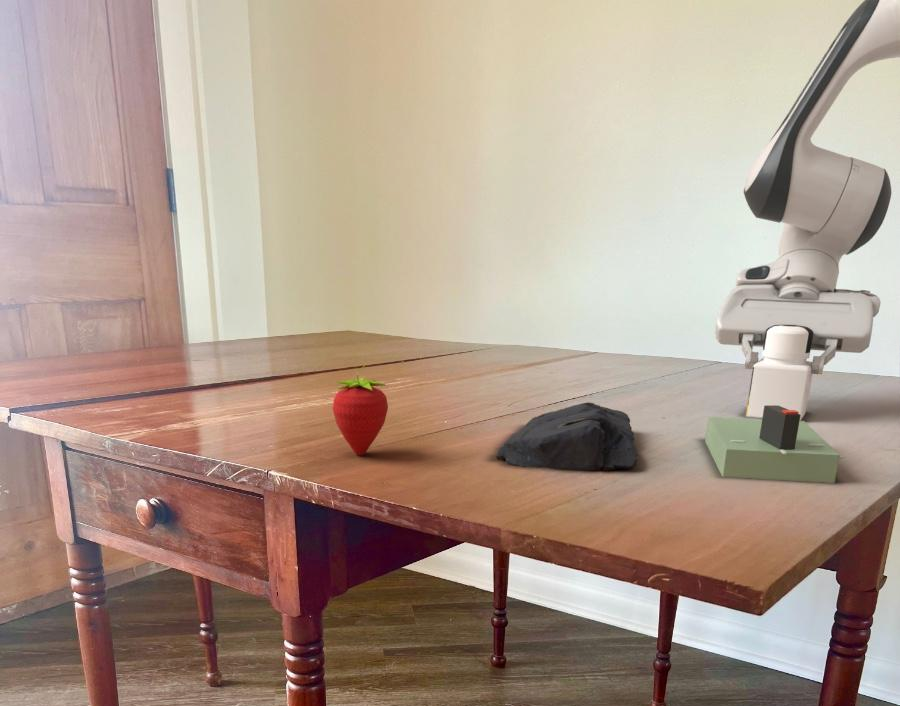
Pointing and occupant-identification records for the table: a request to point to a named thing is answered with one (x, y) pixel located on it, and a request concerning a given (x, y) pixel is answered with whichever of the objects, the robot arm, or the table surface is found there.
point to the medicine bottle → (782, 371)
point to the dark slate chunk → (574, 440)
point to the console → (769, 452)
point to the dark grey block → (779, 426)
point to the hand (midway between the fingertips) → (782, 369)
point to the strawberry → (360, 412)
